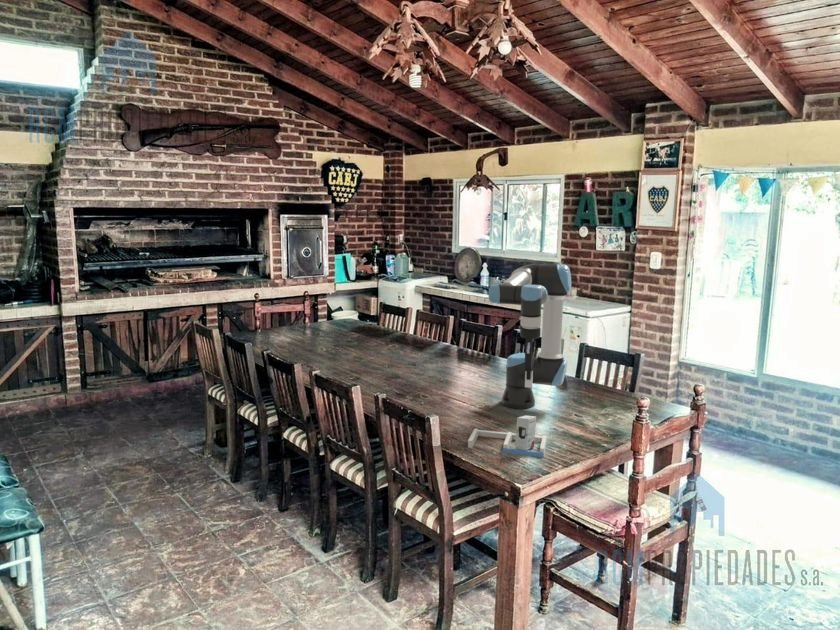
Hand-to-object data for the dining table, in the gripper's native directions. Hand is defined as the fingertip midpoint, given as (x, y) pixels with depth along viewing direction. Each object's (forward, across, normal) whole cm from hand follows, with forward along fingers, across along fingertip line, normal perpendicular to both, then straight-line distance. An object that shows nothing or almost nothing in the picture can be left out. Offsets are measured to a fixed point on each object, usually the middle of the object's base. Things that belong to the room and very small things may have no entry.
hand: (528, 386), depth 244 cm
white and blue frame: (+23, +4, -7) cm, 24 cm away
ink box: (+22, +7, 0) cm, 23 cm away
